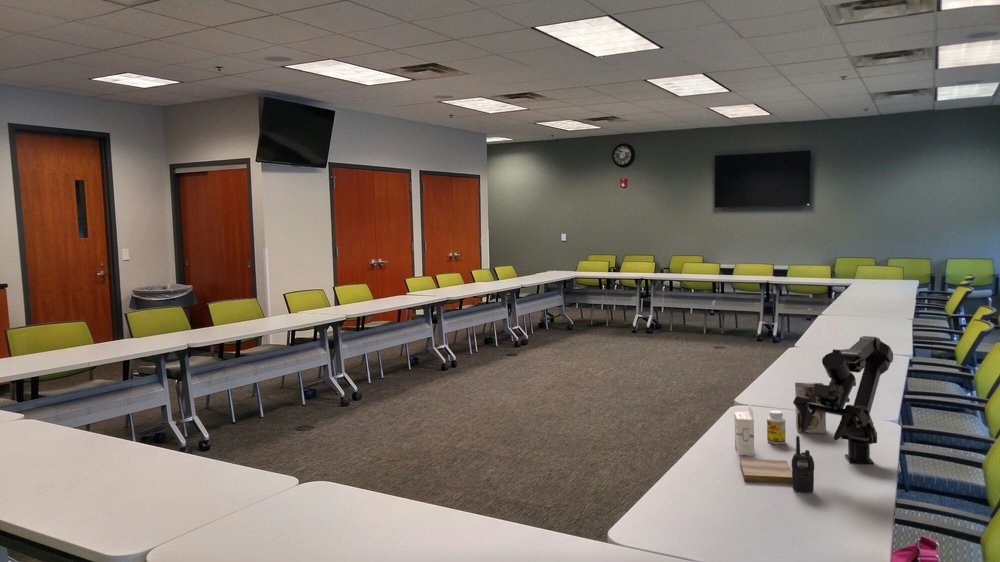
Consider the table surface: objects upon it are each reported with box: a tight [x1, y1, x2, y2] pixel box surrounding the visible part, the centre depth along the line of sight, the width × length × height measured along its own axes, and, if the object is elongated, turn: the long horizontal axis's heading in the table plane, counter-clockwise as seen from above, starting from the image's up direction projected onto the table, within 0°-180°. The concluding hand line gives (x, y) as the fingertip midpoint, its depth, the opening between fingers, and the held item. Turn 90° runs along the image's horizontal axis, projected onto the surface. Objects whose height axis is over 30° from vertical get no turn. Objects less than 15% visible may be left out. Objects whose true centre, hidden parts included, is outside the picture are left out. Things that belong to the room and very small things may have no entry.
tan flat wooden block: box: [739, 458, 793, 485], centre depth 192 cm, size 14×13×2 cm
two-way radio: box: [791, 435, 815, 494], centre depth 179 cm, size 6×4×15 cm
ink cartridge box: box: [733, 402, 755, 457], centre depth 212 cm, size 9×5×15 cm, turn 168°
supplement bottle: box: [766, 410, 787, 445], centre depth 220 cm, size 6×6×10 cm
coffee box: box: [794, 382, 827, 434], centre depth 231 cm, size 9×6×16 cm
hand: (818, 435), depth 183 cm, fingers open, 9 cm apart
